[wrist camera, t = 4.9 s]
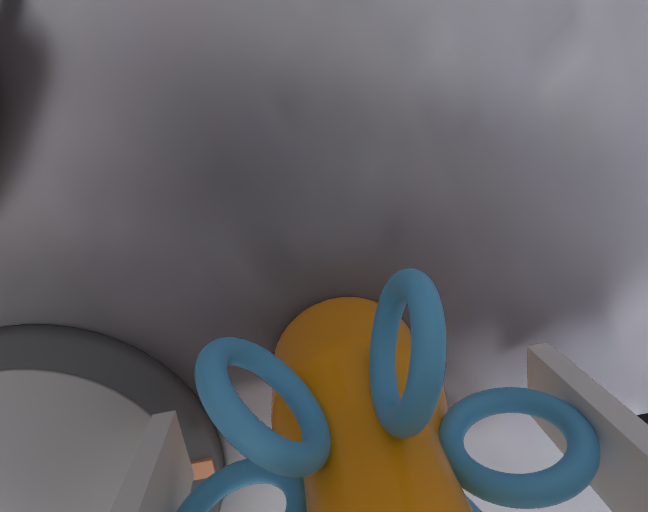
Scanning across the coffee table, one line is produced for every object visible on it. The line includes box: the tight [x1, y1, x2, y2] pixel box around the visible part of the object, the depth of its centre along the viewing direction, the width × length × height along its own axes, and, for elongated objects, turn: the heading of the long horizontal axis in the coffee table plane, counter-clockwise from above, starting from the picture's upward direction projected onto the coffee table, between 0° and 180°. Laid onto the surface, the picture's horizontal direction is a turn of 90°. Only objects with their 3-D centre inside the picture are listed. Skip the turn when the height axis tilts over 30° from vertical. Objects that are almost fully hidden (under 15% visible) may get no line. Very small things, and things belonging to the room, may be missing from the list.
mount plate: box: [0, 325, 224, 512], centre depth 19 cm, size 14×14×1 cm
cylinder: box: [177, 268, 600, 512], centre depth 12 cm, size 12×10×15 cm
